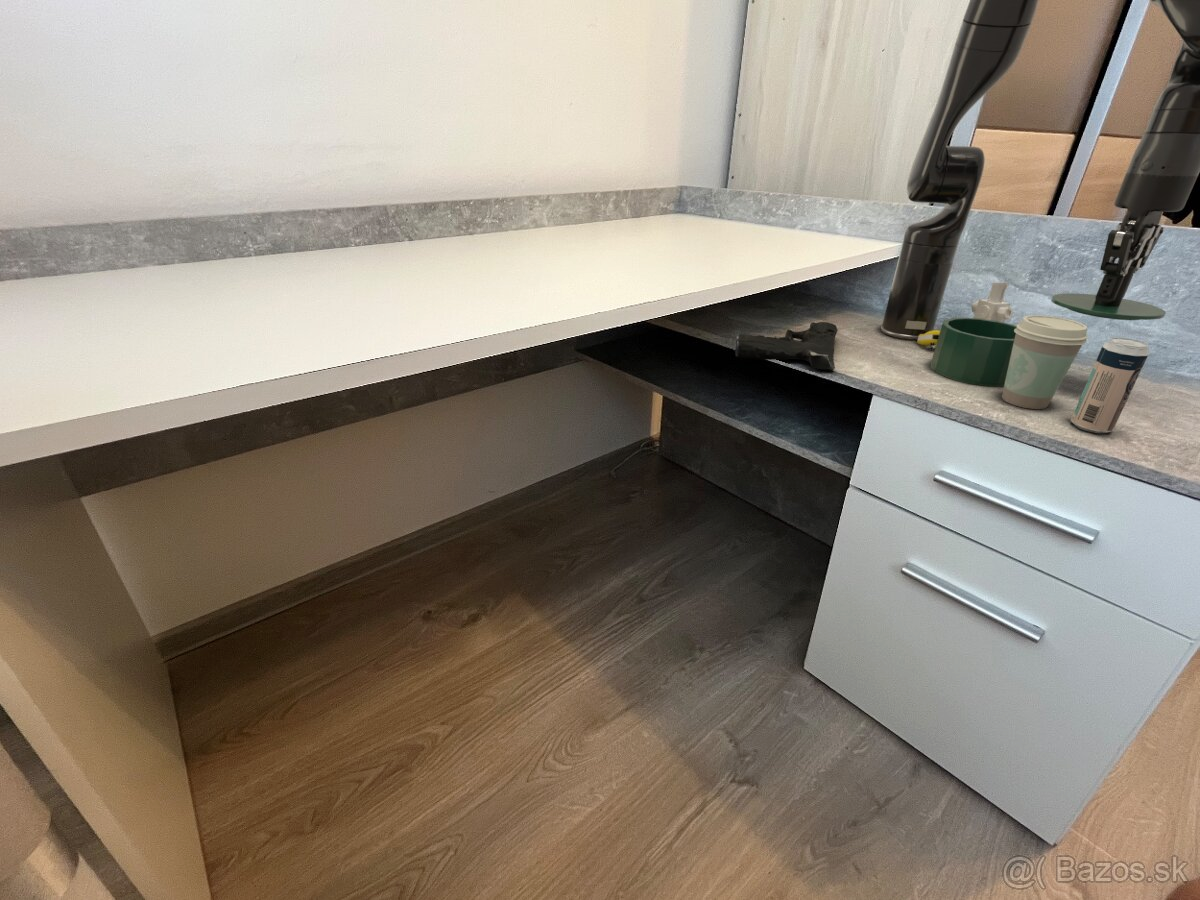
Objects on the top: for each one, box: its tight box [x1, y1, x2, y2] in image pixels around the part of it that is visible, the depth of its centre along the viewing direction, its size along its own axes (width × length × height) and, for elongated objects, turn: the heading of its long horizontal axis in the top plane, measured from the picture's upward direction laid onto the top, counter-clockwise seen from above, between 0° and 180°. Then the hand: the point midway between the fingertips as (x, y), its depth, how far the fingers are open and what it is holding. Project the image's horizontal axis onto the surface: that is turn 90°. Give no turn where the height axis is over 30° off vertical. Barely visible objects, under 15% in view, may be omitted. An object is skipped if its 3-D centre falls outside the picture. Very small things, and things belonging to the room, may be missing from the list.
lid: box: [1050, 266, 1166, 321], centre depth 88 cm, size 14×14×7 cm
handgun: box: [734, 321, 839, 371], centre depth 108 cm, size 21×17×4 cm
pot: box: [930, 317, 1017, 387], centre depth 98 cm, size 13×13×8 cm
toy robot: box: [970, 282, 1014, 323], centre depth 110 cm, size 4×8×12 cm, turn 17°
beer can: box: [1070, 337, 1151, 434], centre depth 79 cm, size 5×5×12 cm
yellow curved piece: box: [916, 329, 941, 350], centre depth 110 cm, size 10×6×4 cm, turn 71°
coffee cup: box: [1001, 314, 1088, 410], centre depth 86 cm, size 8×8×12 cm
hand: (1108, 299), depth 89 cm, fingers closed on lid, 3 cm apart
